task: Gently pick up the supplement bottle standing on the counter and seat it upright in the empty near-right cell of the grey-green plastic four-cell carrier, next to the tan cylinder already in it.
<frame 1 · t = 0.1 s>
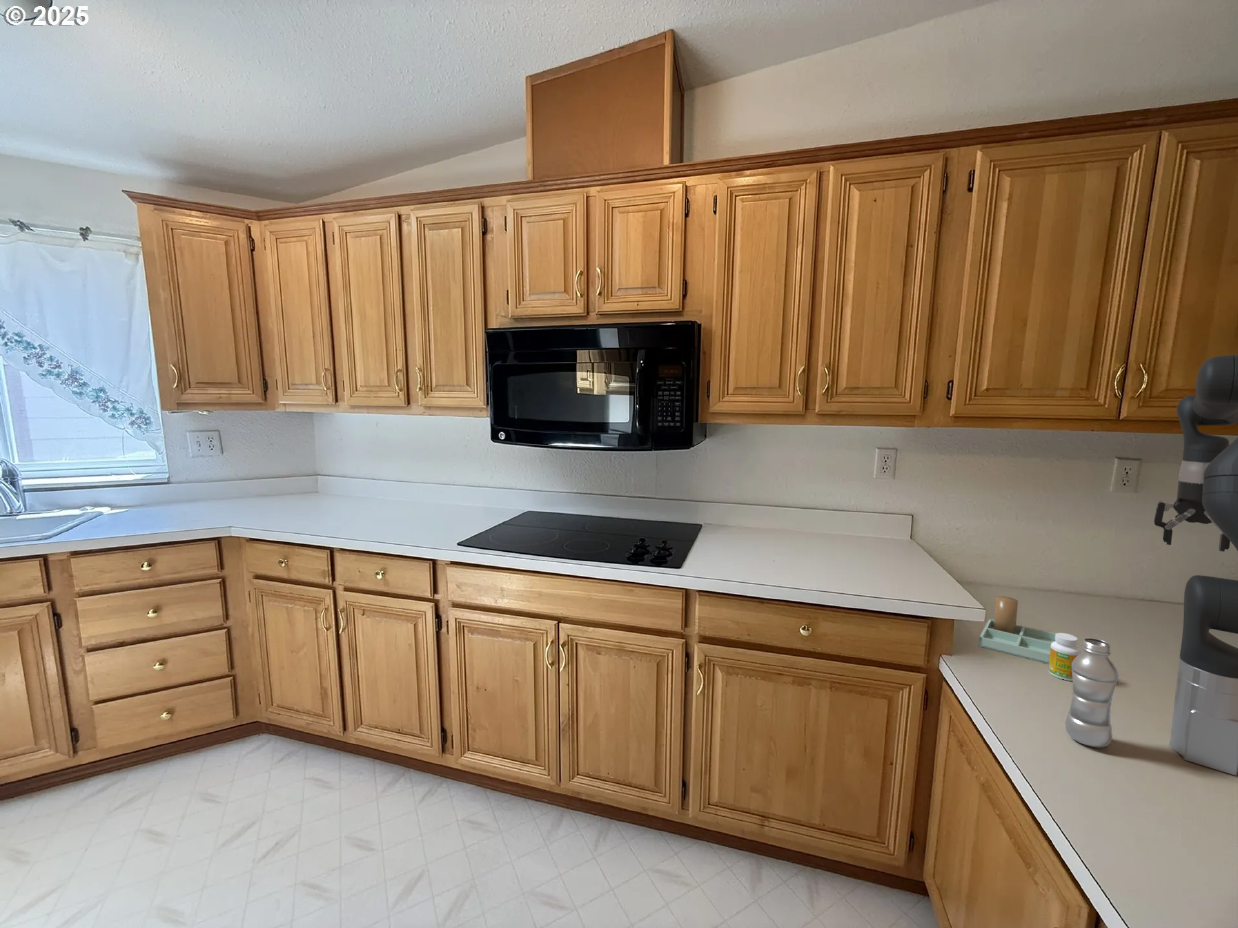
hand: (1194, 547, 124), 29 cm above the countertop, fingers open, 8 cm apart
plastic bottle: (1087, 742, 100), on the countertop
carrier: (1019, 644, 139), on the countertop
supplement bottle: (1063, 676, 123), on the countertop
tan cylinder: (1004, 634, 144), resting on carrier
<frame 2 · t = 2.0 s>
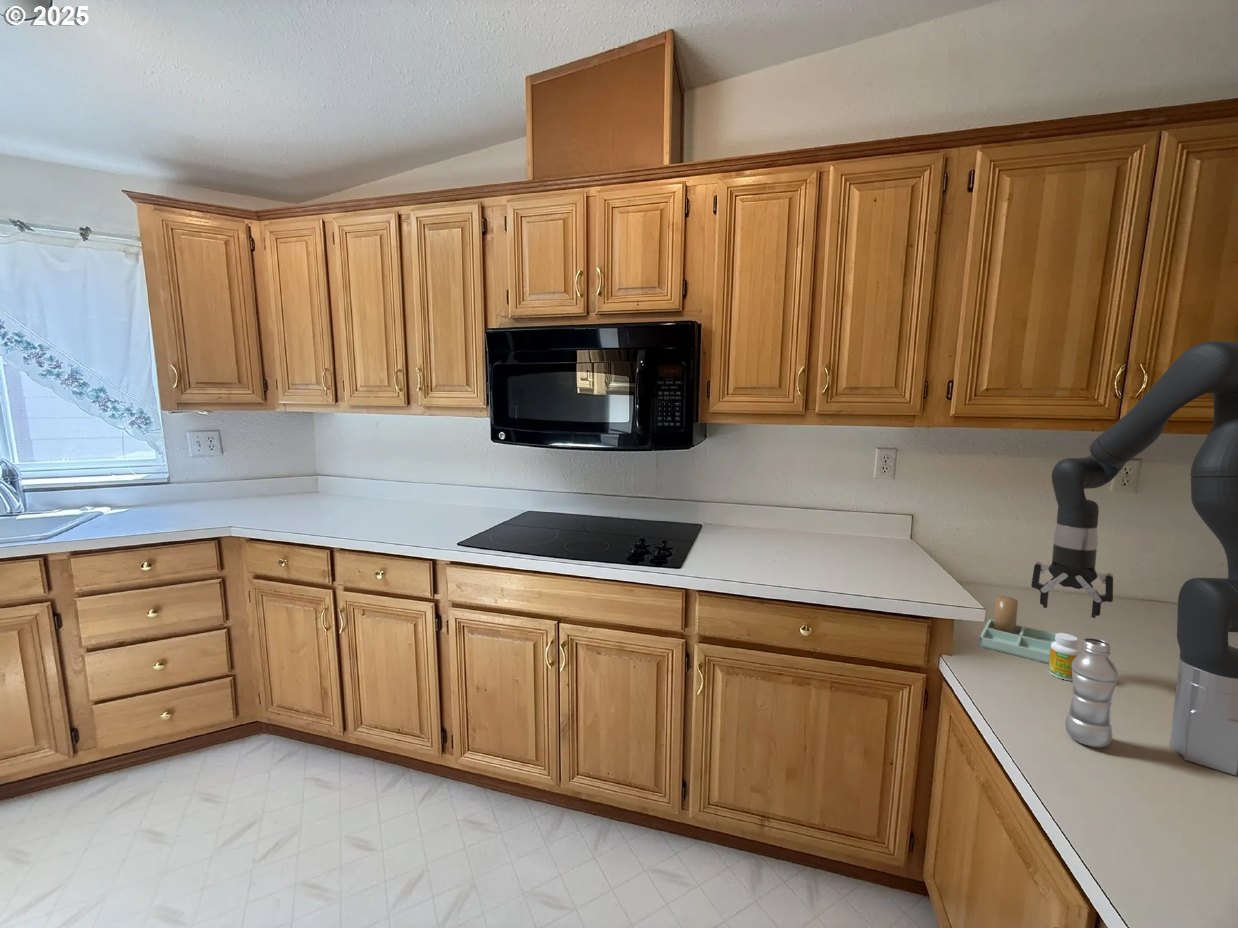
hand: (1068, 611, 121), 16 cm above the countertop, fingers open, 8 cm apart
nothing on the countertop moved.
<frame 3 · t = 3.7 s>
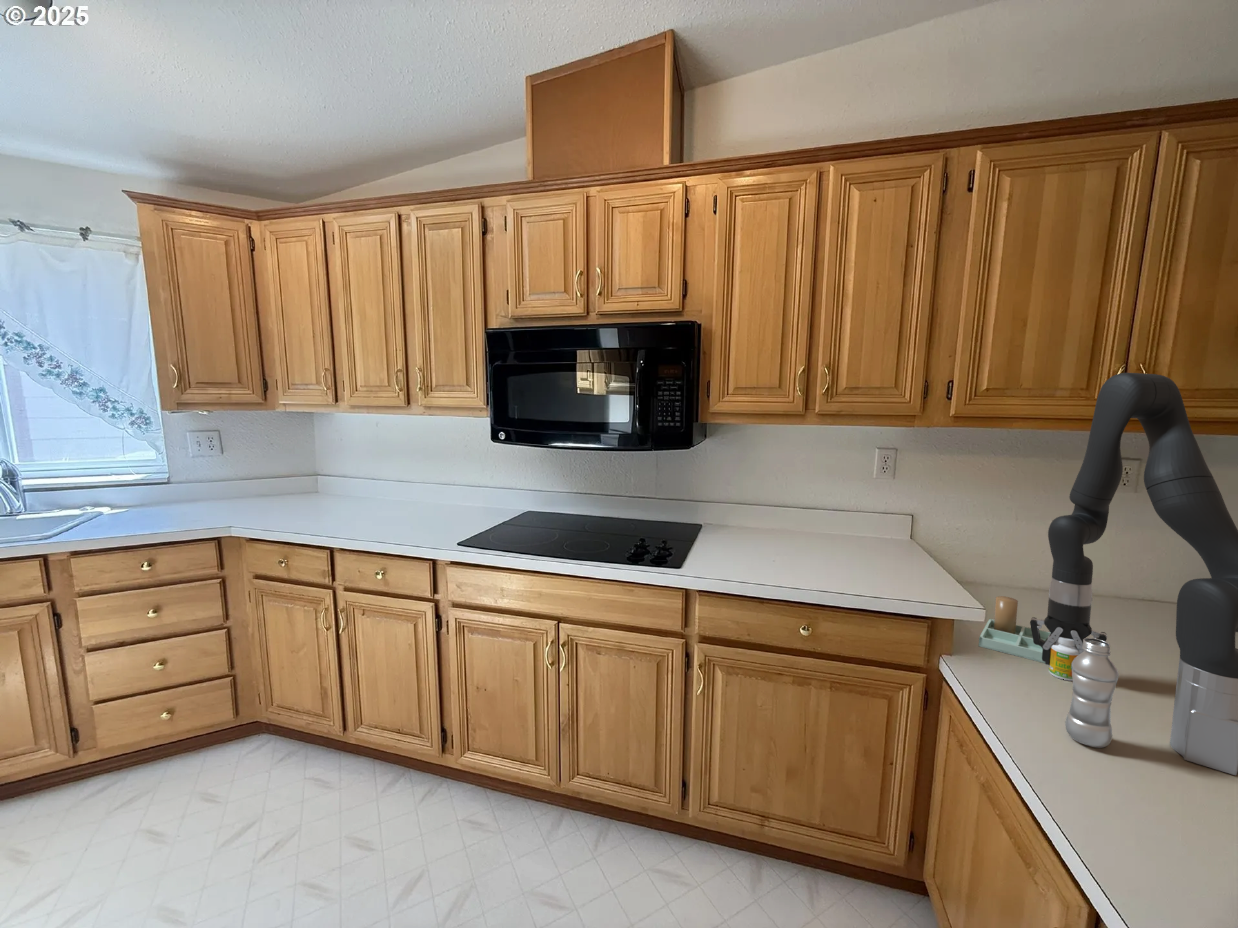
hand: (1063, 667, 123), 2 cm above the countertop, fingers closed on supplement bottle, 5 cm apart
supplement bottle: (1063, 676, 123), on the countertop, touching gripper
everything else where it was.
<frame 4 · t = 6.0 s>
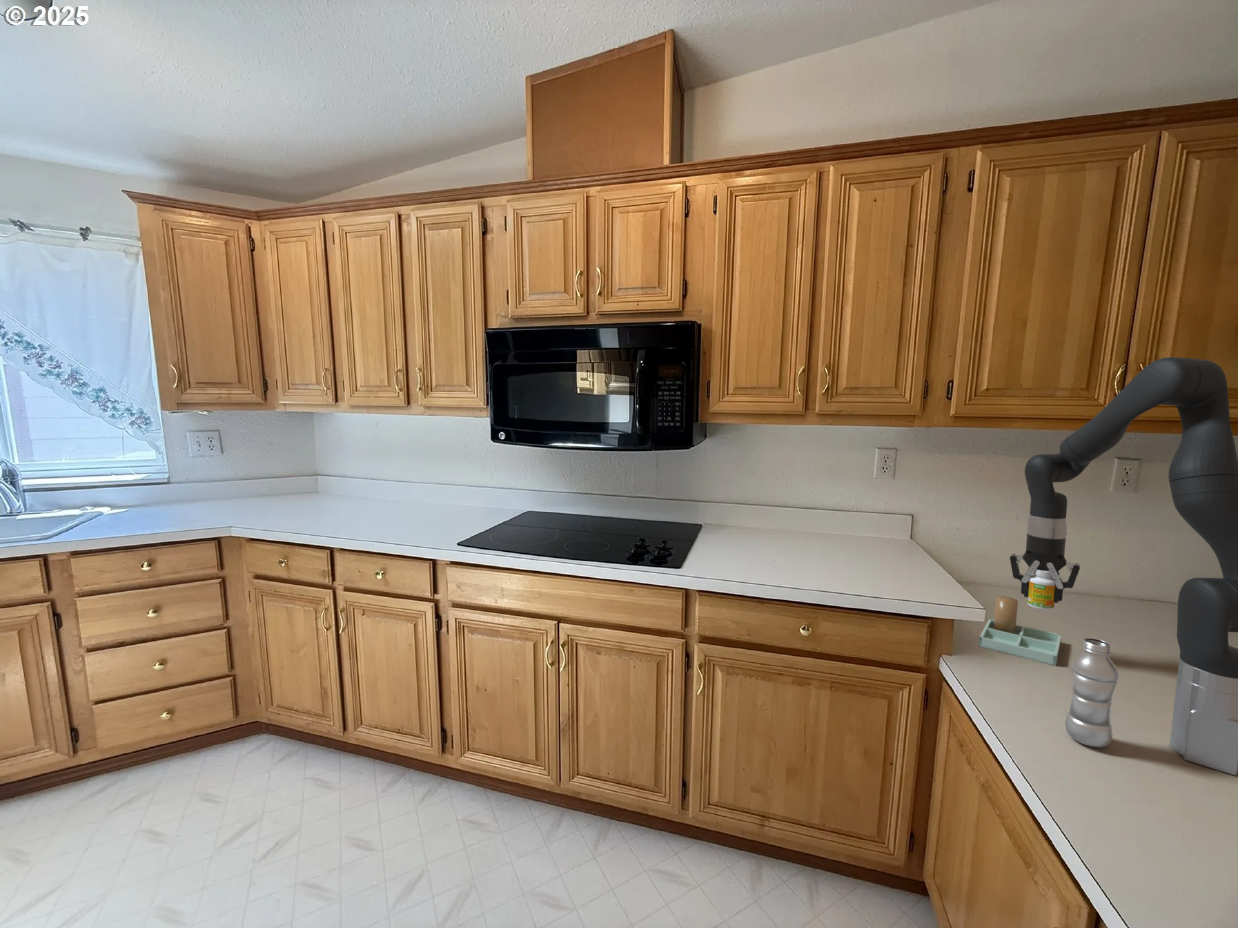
hand: (1041, 598, 132), 15 cm above the countertop, fingers closed on supplement bottle, 5 cm apart
supplement bottle: (1040, 607, 132), point 13 cm above the countertop, touching gripper
everything else where it was.
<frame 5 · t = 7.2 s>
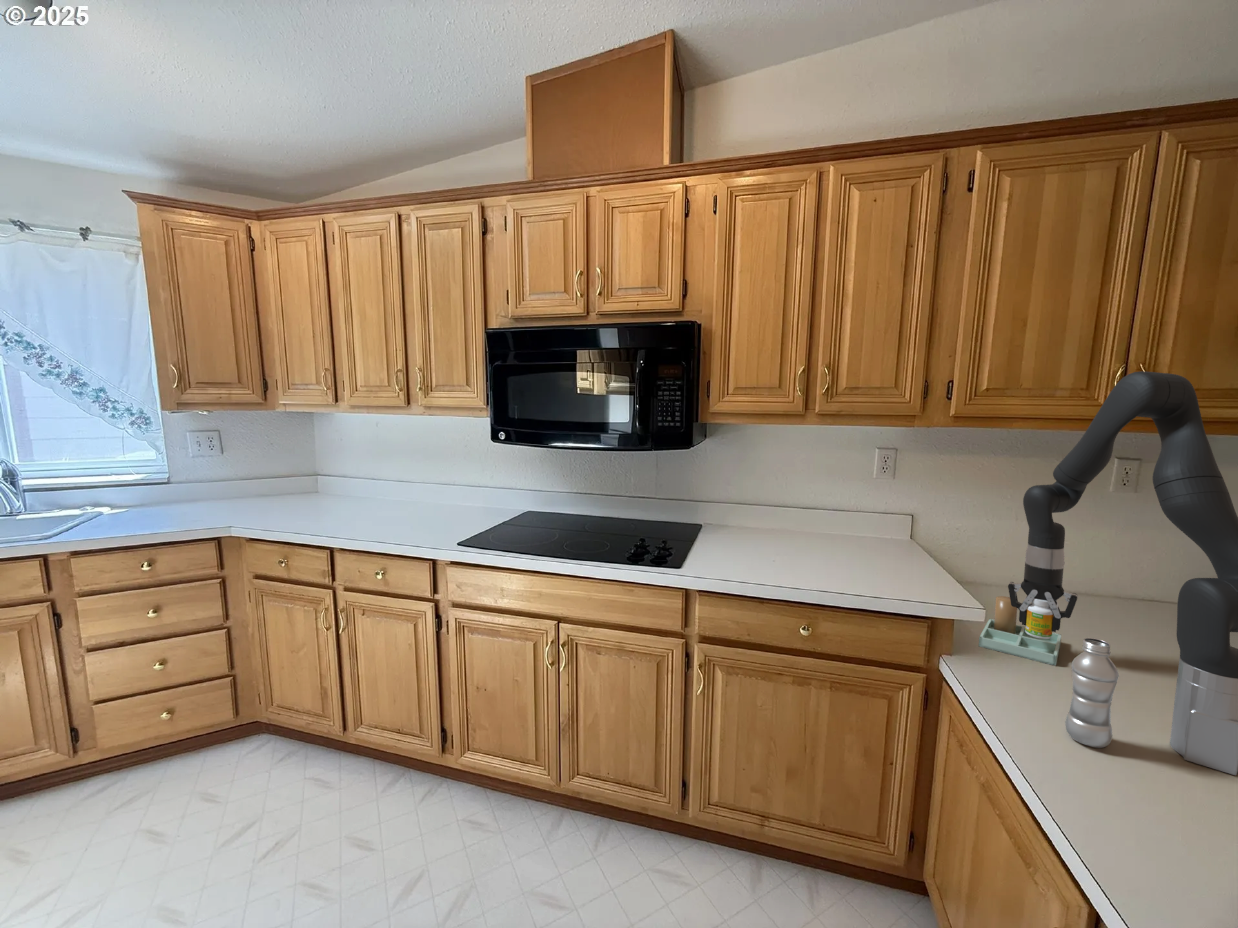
hand: (1038, 627, 133), 7 cm above the countertop, fingers closed on supplement bottle, 5 cm apart
supplement bottle: (1038, 635, 133), point 5 cm above the countertop, touching gripper
everything else where it was.
when the fingers open (4 cm above the countertop, at t = 8.4 s): supplement bottle drops 1 cm, resting on carrier.
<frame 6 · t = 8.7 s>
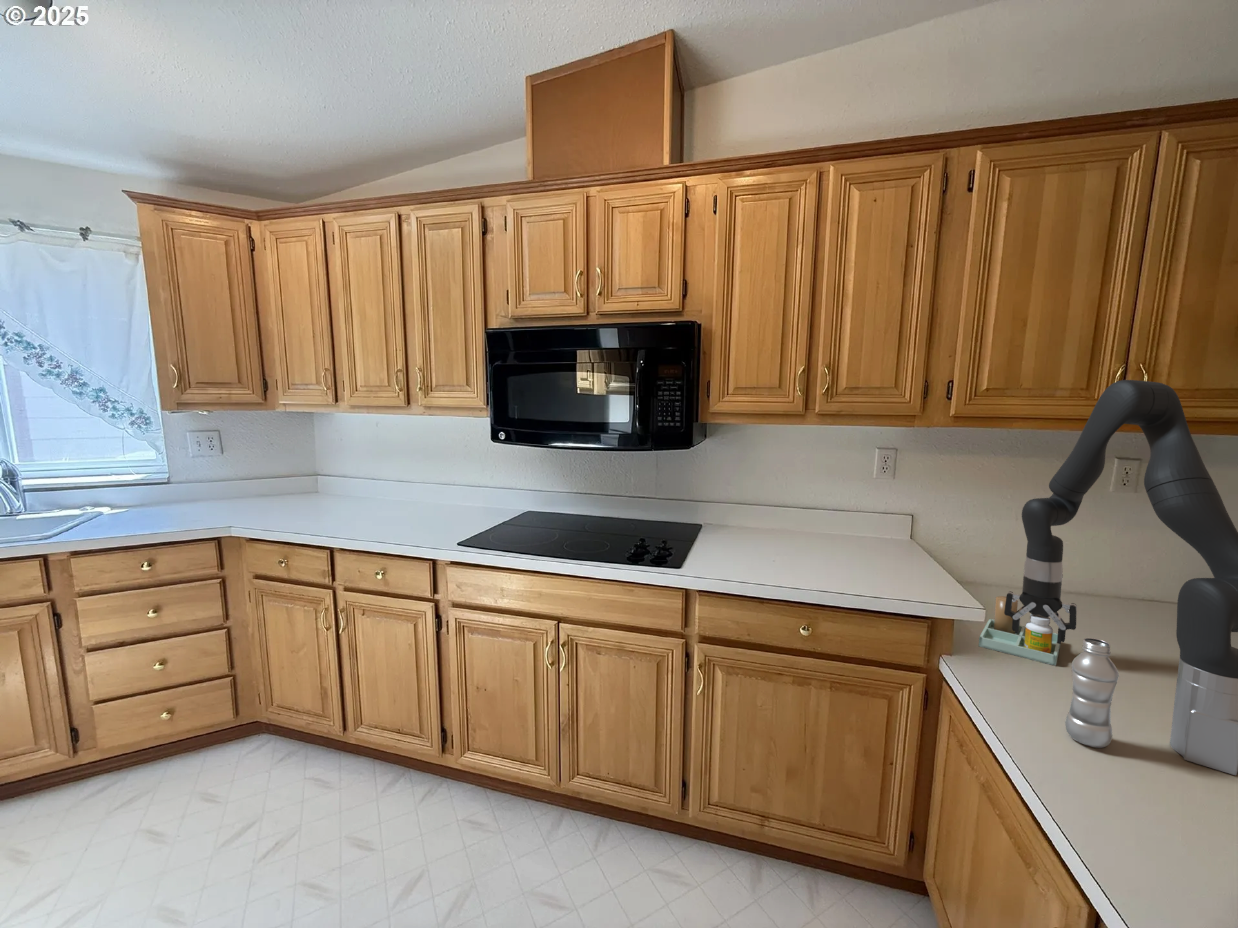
hand: (1037, 637, 133), 5 cm above the countertop, fingers open, 8 cm apart
supplement bottle: (1037, 653, 133), resting on carrier
everything else where it was.
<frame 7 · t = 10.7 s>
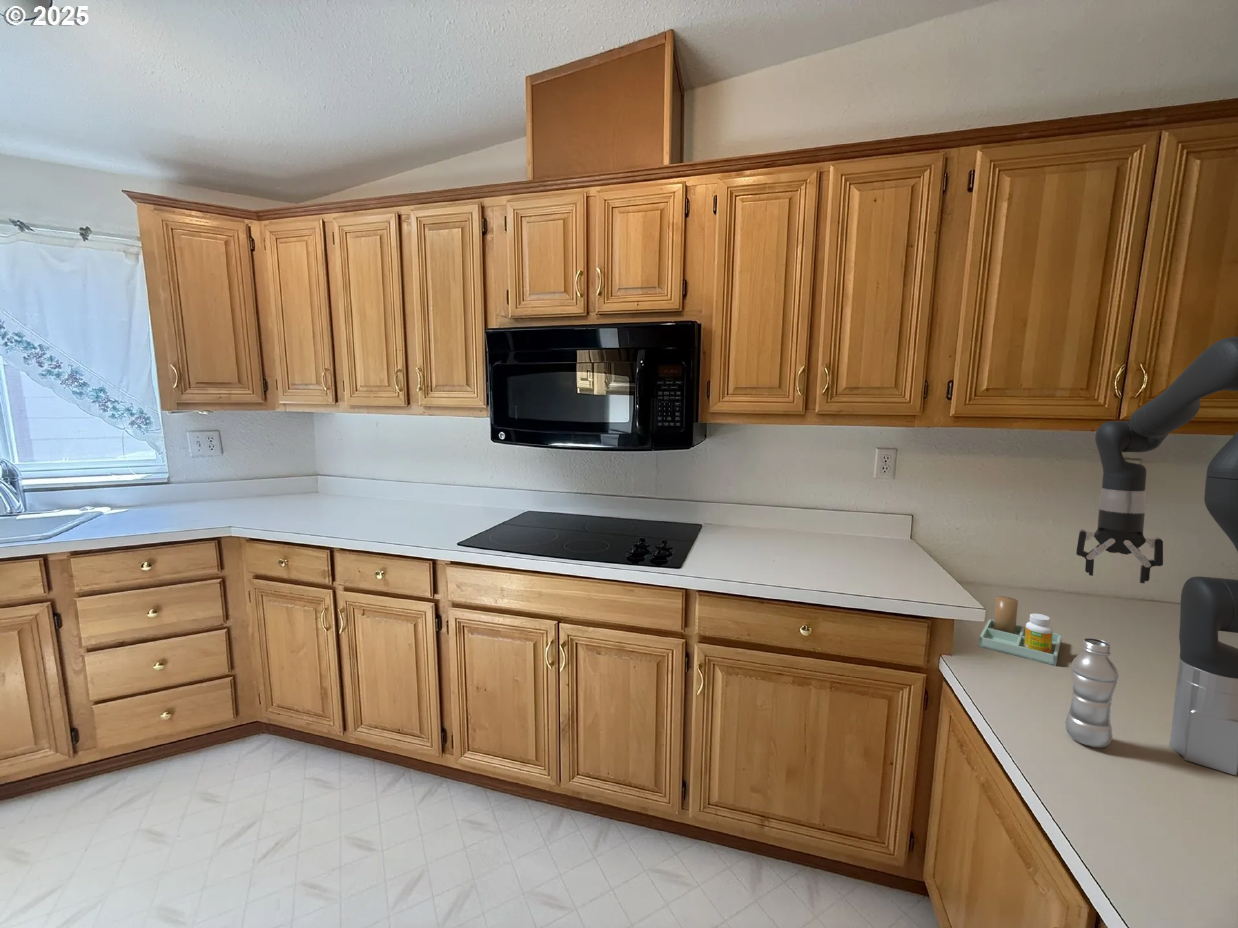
hand: (1115, 578, 120), 24 cm above the countertop, fingers open, 8 cm apart
nothing on the countertop moved.
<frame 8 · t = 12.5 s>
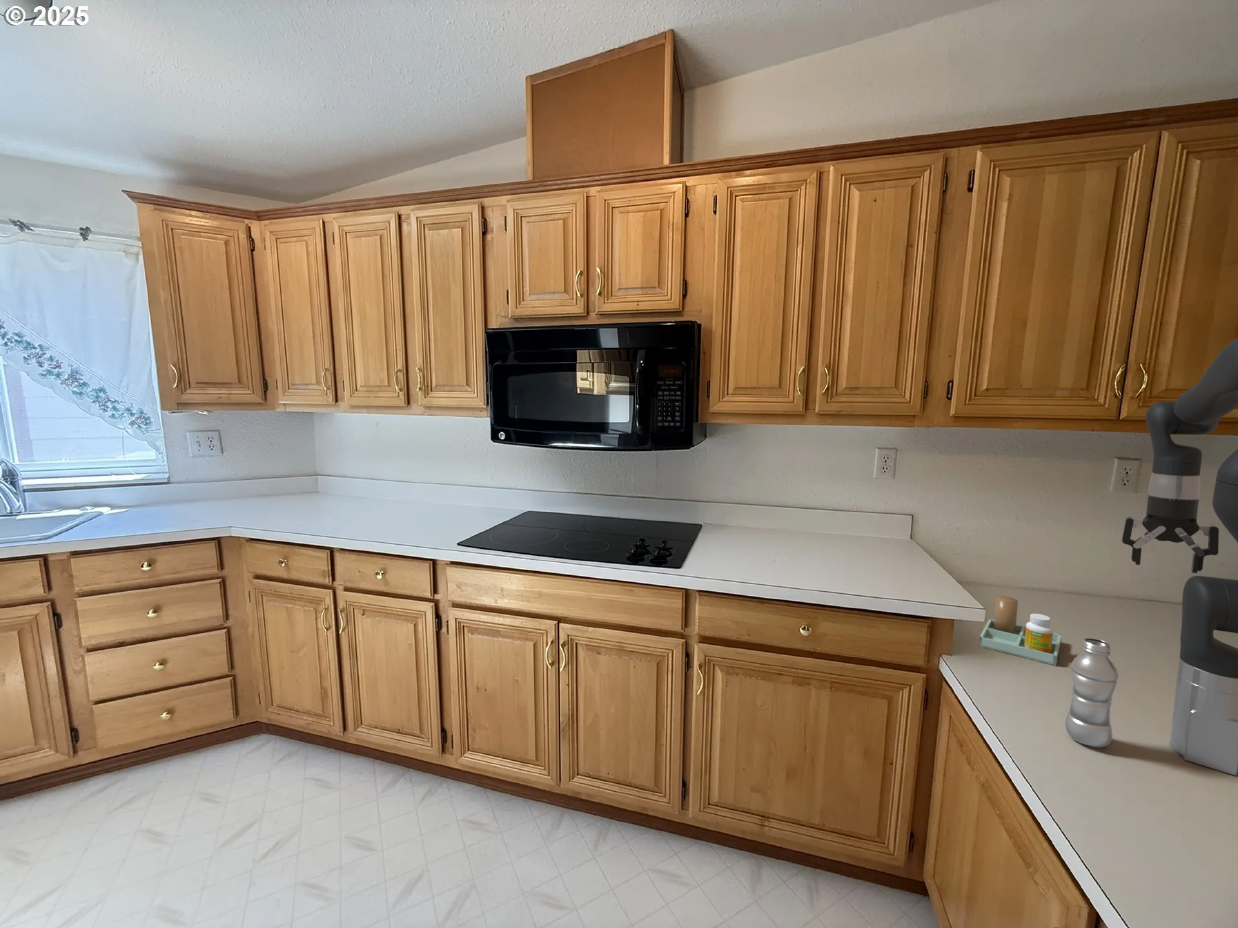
hand: (1165, 568, 113), 28 cm above the countertop, fingers open, 8 cm apart
nothing on the countertop moved.
at the end: supplement bottle 0.2 cm from the target spot on the carrier, point 0.3 cm above the carrier's base; supplement bottle tilted 0°; the gripper is holding nothing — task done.
